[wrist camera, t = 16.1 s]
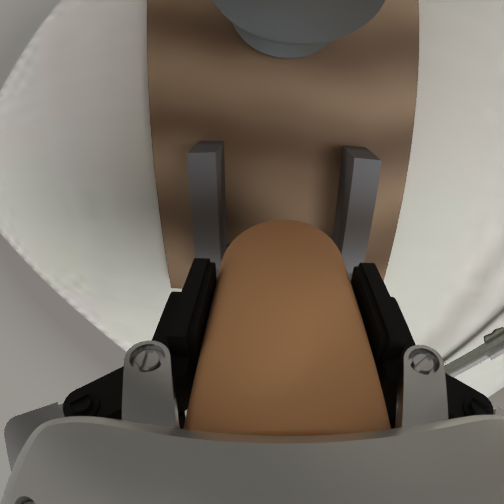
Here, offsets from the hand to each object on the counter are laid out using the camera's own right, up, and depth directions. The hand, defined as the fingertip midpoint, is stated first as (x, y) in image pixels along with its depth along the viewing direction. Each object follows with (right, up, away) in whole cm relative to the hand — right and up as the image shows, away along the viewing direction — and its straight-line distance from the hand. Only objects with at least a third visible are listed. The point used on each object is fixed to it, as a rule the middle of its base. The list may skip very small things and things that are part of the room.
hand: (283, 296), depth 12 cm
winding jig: (+1, +9, +7) cm, 12 cm away
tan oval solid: (0, +1, +1) cm, 1 cm away
